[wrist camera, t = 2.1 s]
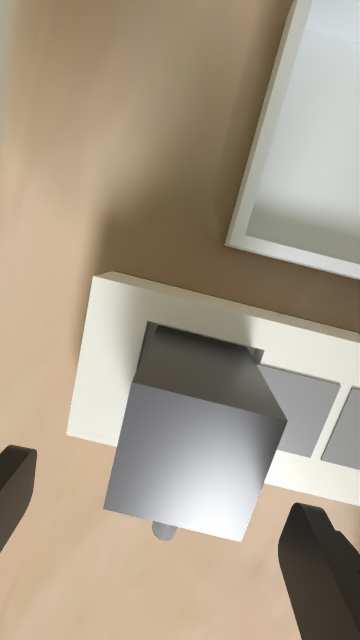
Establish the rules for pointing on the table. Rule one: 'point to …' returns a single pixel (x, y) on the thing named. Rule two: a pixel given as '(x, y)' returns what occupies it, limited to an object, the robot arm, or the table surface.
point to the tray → (307, 146)
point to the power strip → (266, 350)
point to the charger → (195, 437)
